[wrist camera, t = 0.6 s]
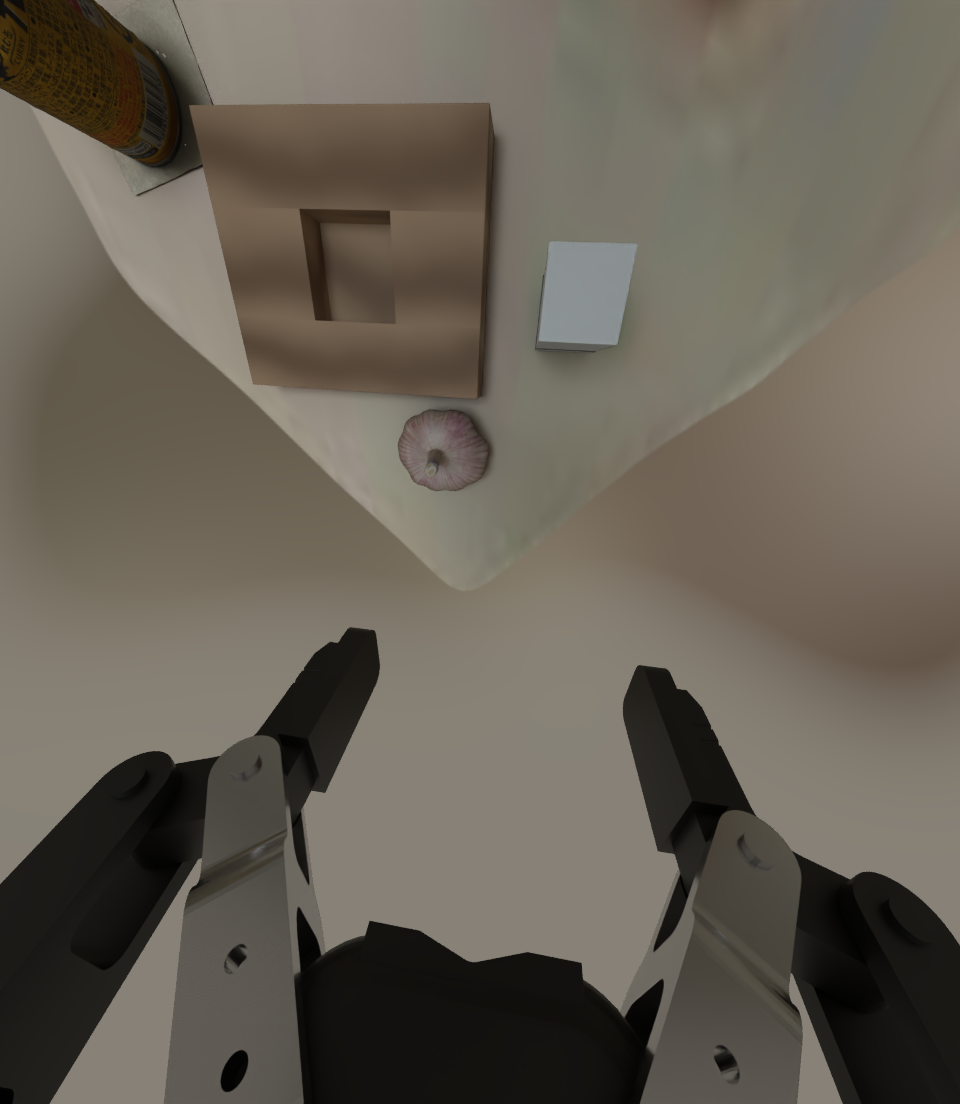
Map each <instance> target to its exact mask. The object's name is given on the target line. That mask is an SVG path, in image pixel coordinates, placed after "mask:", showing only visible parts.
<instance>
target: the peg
mask: <svg viewBox="0 0 960 1104" xmlns="http://www.w3.org/2000/svg"><path fill="white" fill-rule="evenodd" d="M637 245H638V244H631V243H592V242H554V241H550V242H549V248H548V254H547V261H546V267H545V273H544V275H543V282H542V291H541V300H540V310H539V319H538V328H537V337H536V347H535V349H536V350H544V351H563V352H582V353H589V352H595V351H597V350H601V349H604V348H608V347H612V346H616V345H617V344H618V339H619V334H620V329H621V324H622V319H623V314H624V309H625V304H626V299H627V294H628V289H629V284H630V279H631V275H632V270H633V265H634V260H635V255H636V250H637Z"/></svg>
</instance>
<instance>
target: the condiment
mask: <svg viewBox="0 0 960 1104" xmlns="http://www.w3.org/2000/svg"><path fill="white" fill-rule="evenodd" d="M156 50H158V51H159V54H157V53H156ZM162 53H164V54H165V55H166V57H167V58H165V57H163V56H162ZM0 88H1V89H3V90H5V91H7V92H9V93H10V94H12V95H14V96H16V97H18V98H20V99H22V100H24V101H26V102H27V103H29V104H30V105H32V106H34V107H35V108H38V109H40V110H42V111H44V112H46V113H48V114H49V115H51V116H53V117H55V118H57V119H59V120H61V121H62V122H64V123H66V124H68V125H70V126H72V127H74V128H75V129H78V130H79V131H81V132H83V133H85V134H87V135H89V136H90V137H92V138H94V139H96V140H98V141H100V142H102V143H103V144H105V145H107V146H109V147H110V148H112V149H113V150H114V152H115V154H116V157H117V160H118V162H119V164H120V167H121V169H122V171H123V173H124V175H125V177H126V179H127V181H128V183H129V185H130V188H131V189H132V191H133V193H134V195H137V194H139V193H142V192H144V191H146V190H149V189H152V188H154V187H156V186H158V185H159V184H163V183H165V182H168V181H170V180H171V179H174V178H176V177H178V176H179V175H181V174H184V173H185V172H186V171H188V170H190V169H193V168H196V167H198V166H200V165H203V164H202V160H201V155H200V151H199V147H198V142H197V138H196V133H195V129H194V125H193V120H192V116H191V112H190V107H189V105H212V103H211V99H210V96H209V94H208V91H207V89H206V86H205V83H204V81H203V78H202V76H201V73H200V70H199V68H198V64H197V60H196V58H195V56H194V54H193V52H192V49H191V47H190V45H189V42H188V39H187V37H186V34H185V31H184V28H183V25H182V23H181V20H180V18H179V15H178V13H177V11H176V8H175V6H174V3H173V0H137V2H136V3H134V4H132V5H131V6H127V7H125V9H124V10H123V11H120V12H119V13H118V14H117V15H115V16H114V17H113V16H111V15H110V14H109V12H108V11H106V10H105V9H104V8H103V7H102V6H100V5H99V4H98V3H96V1H95V0H0ZM184 144H186V146H185V145H184Z"/></svg>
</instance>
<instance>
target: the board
mask: <svg viewBox="0 0 960 1104" xmlns="http://www.w3.org/2000/svg"><path fill="white" fill-rule="evenodd" d="M189 107H190V112H191V116H192V120H193V125H194V129H195V133H196V138H197V142H198V147H199V151H200V155H201V160H202V164H203V168H204V173H205V177H206V181H207V186H208V190H209V194H210V199H211V203H212V207H213V212H214V216H215V220H216V225H217V229H218V234H219V238H220V242H221V247H222V251H223V255H224V260H225V264H226V268H227V273H228V277H229V281H230V286H231V290H232V294H233V299H234V303H235V307H236V312H237V316H238V321H239V325H240V329H241V334H242V338H243V342H244V347H245V351H246V355H247V360H248V364H249V368H250V373H251V377H252V381H253V384H256V385H271V386H286V387H302V388H317V389H332V390H348V391H363V392H378V393H393V394H409V395H424V396H439V397H455V398H470V399H478V398H479V397H481V396H482V379H483V358H484V338H485V317H486V296H487V276H488V255H489V234H490V213H491V193H492V172H493V151H494V130H493V123H492V116H491V109H490V103H438V104H297V105H189Z"/></svg>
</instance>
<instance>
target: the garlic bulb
mask: <svg viewBox="0 0 960 1104" xmlns="http://www.w3.org/2000/svg"><path fill="white" fill-rule="evenodd" d="M398 450H399V457H400V460H401V462H402V464H403V465H404V466H405V467H406V469H407V470H408V472H409V474H410V476H411V478H412V480H413V481H414V482H415V483H417V484H418V485H423V486H426V487H428V488H429V489H431V490H434V491H441V490H450V491H457V490H460V489H463V488H464V487H465V486H467V485H468V484H471V483H474V482H476V481H478V480H479V479H480V478H481V476H482V475H483V473H484V470H485V463H486V460H487V457H488V455H489V447H488V444H487V442H486V441H485V440H484V439H483V438H481V437H480V436H479V435H478V433H477V432H476V431H475V428H474V426H473V423H472V421H471V420H470V418H469V417H468V416H467V415H466V414H464V413H462V412H460V411H457V410H449V411H438V410H427V411H424V412H423V413H421V414H420V415H417V416H413V417H411V418H410V419H409V420H408V421H407V422H406V423H405V425H404V429H403V432H402V435H401V437H400V439H399V442H398Z"/></svg>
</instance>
